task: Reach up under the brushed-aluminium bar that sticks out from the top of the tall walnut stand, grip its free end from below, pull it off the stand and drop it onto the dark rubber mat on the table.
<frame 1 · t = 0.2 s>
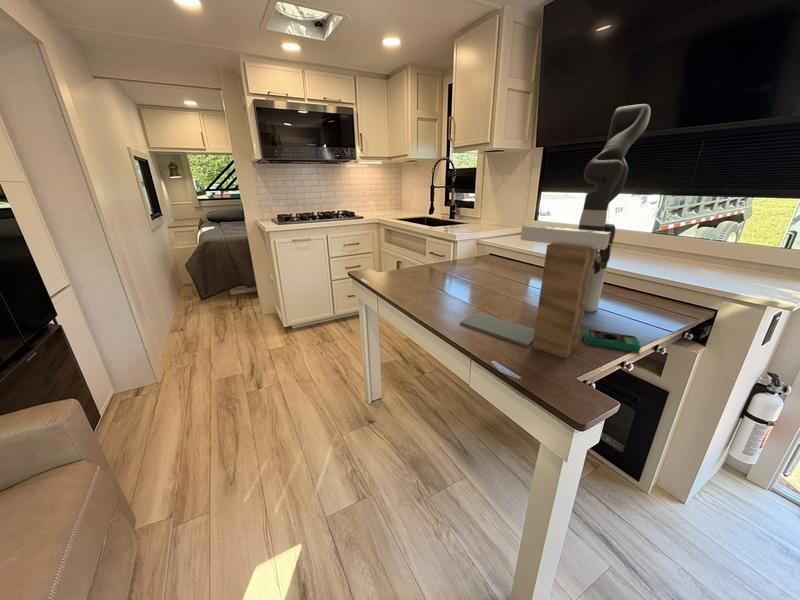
hand: (581, 271, 114), 18 cm above the table, tool pointing down, fingers open, 8 cm apart
rubber mat: (500, 329, 113), on the table
walnut stand: (554, 346, 101), on the table
aluminium bar: (561, 243, 92), point 32 cm above the table, touching walnut stand
digital multimeter: (609, 344, 103), on the table
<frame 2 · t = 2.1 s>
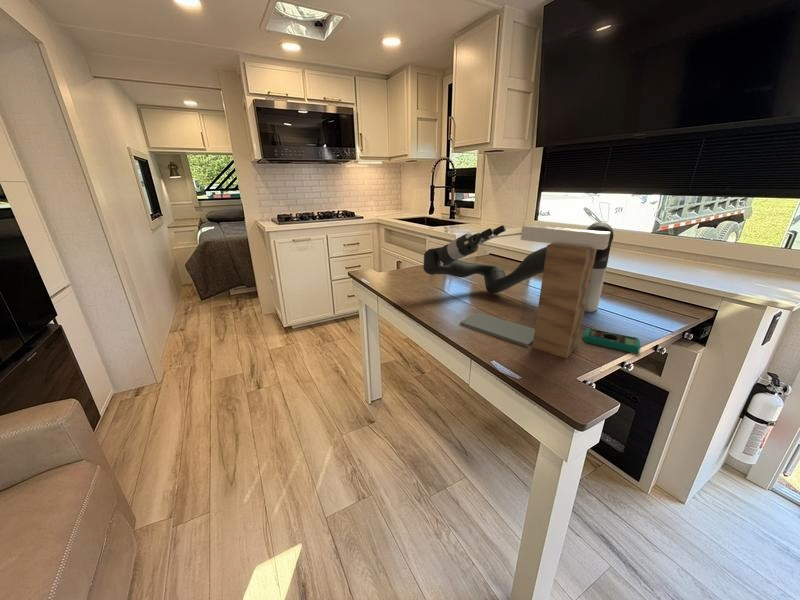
hand: (498, 229, 110), 33 cm above the table, tool pointing upward, fingers open, 8 cm apart
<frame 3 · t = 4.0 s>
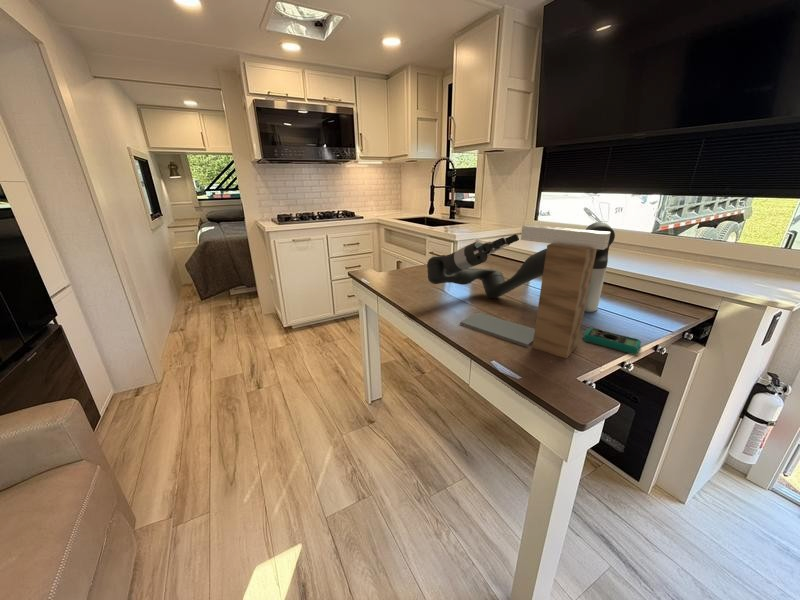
hand: (511, 238, 101), 32 cm above the table, tool pointing upward, fingers open, 8 cm apart
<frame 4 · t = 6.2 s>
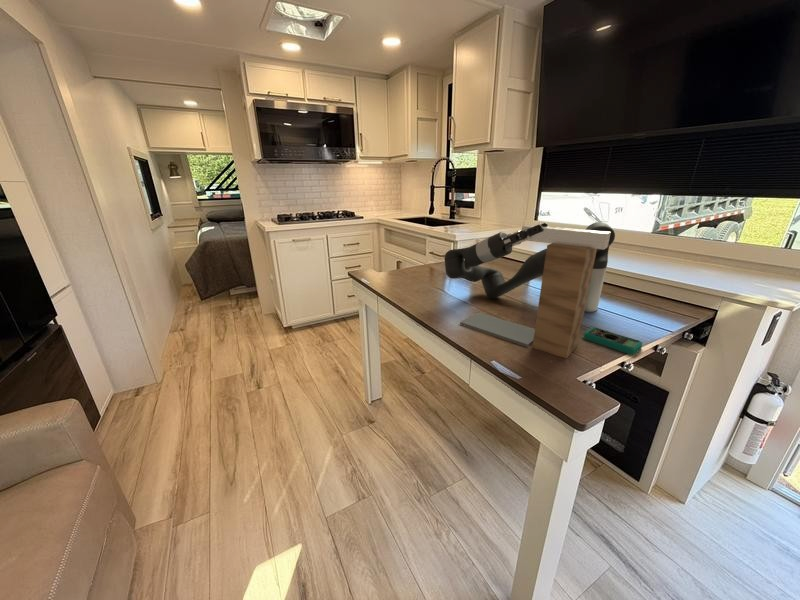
hand: (544, 226, 93), 36 cm above the table, tool pointing upward, fingers closed on aluminium bar, 4 cm apart
aluminium bar: (561, 243, 92), point 32 cm above the table, touching gripper, walnut stand
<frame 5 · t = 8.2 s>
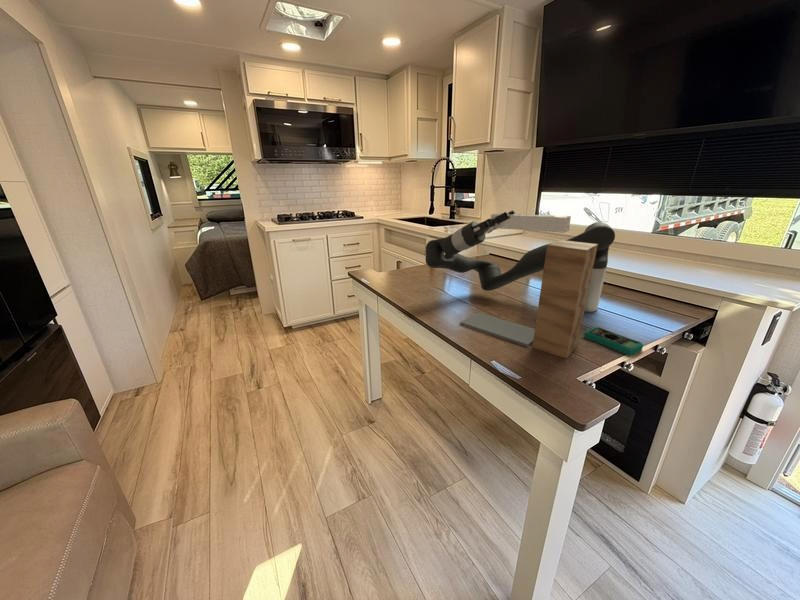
hand: (511, 214, 98), 39 cm above the table, tool pointing upward, fingers closed on aluminium bar, 4 cm apart
aluminium bar: (527, 229, 96), point 35 cm above the table, touching gripper
when the fingers open (32 cm above the table, at t = 10.5 s): aluminium bar drops 27 cm, resting on rubber mat.
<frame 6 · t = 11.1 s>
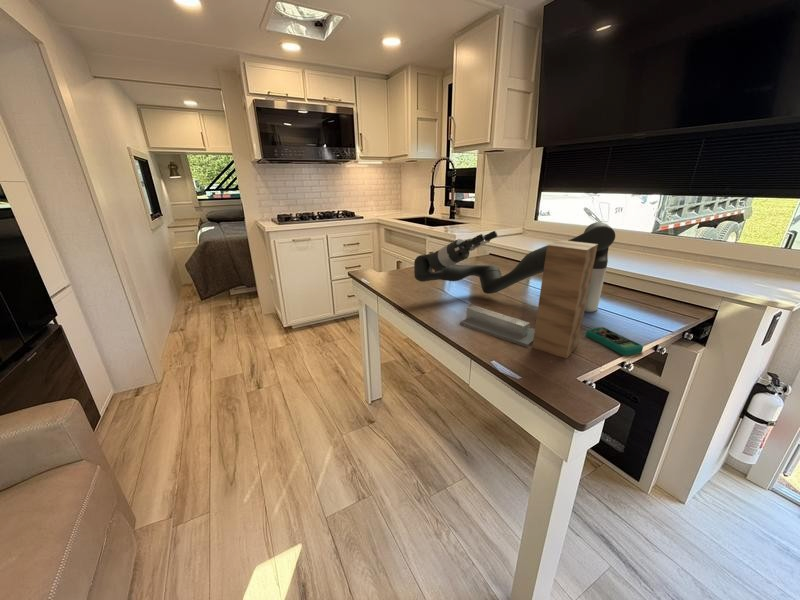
hand: (489, 235, 106), 32 cm above the table, tool pointing upward, fingers open, 8 cm apart
aluminium bar: (495, 325, 114), point 1 cm above the table, touching rubber mat
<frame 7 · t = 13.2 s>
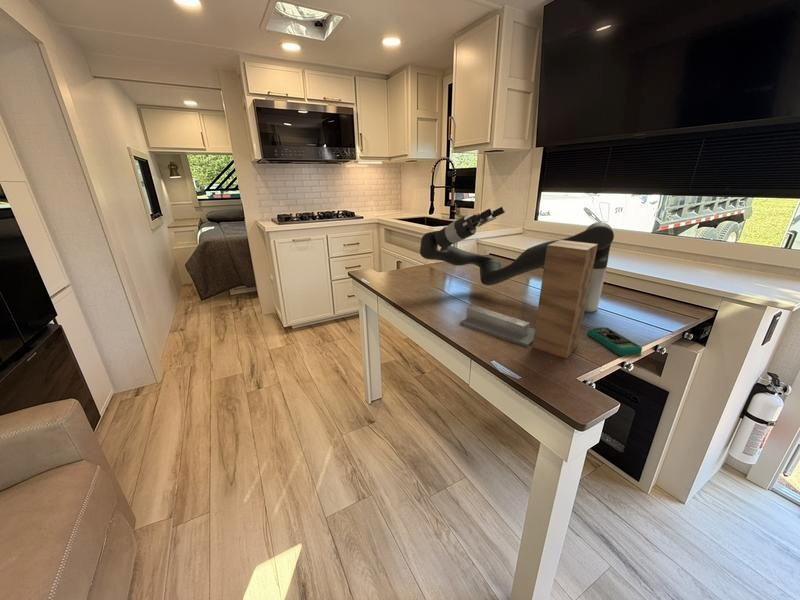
hand: (497, 210, 108), 39 cm above the table, tool pointing upward, fingers open, 8 cm apart
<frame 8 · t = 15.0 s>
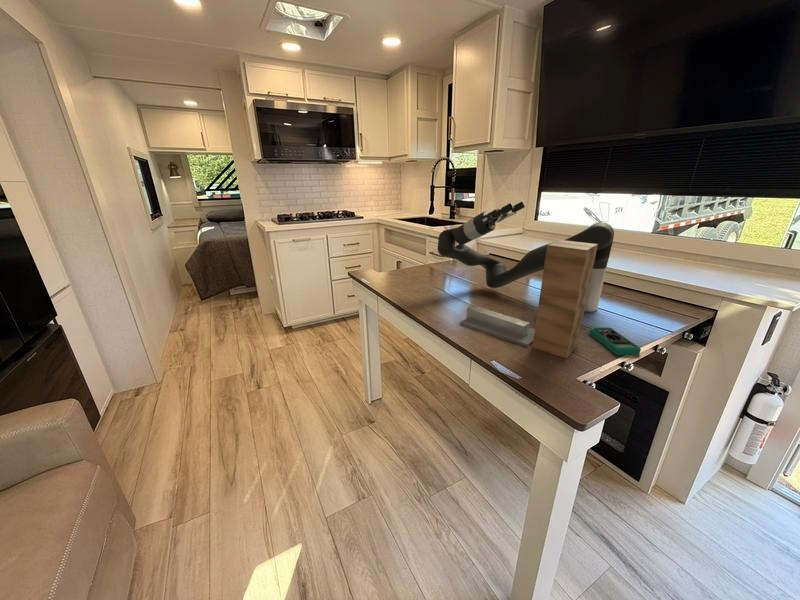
hand: (518, 204, 107), 41 cm above the table, tool pointing upward, fingers open, 8 cm apart
at the end: aluminium bar inside the target area (1.3 cm from its centre), point 1.0 cm above the table; the gripper is holding nothing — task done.
